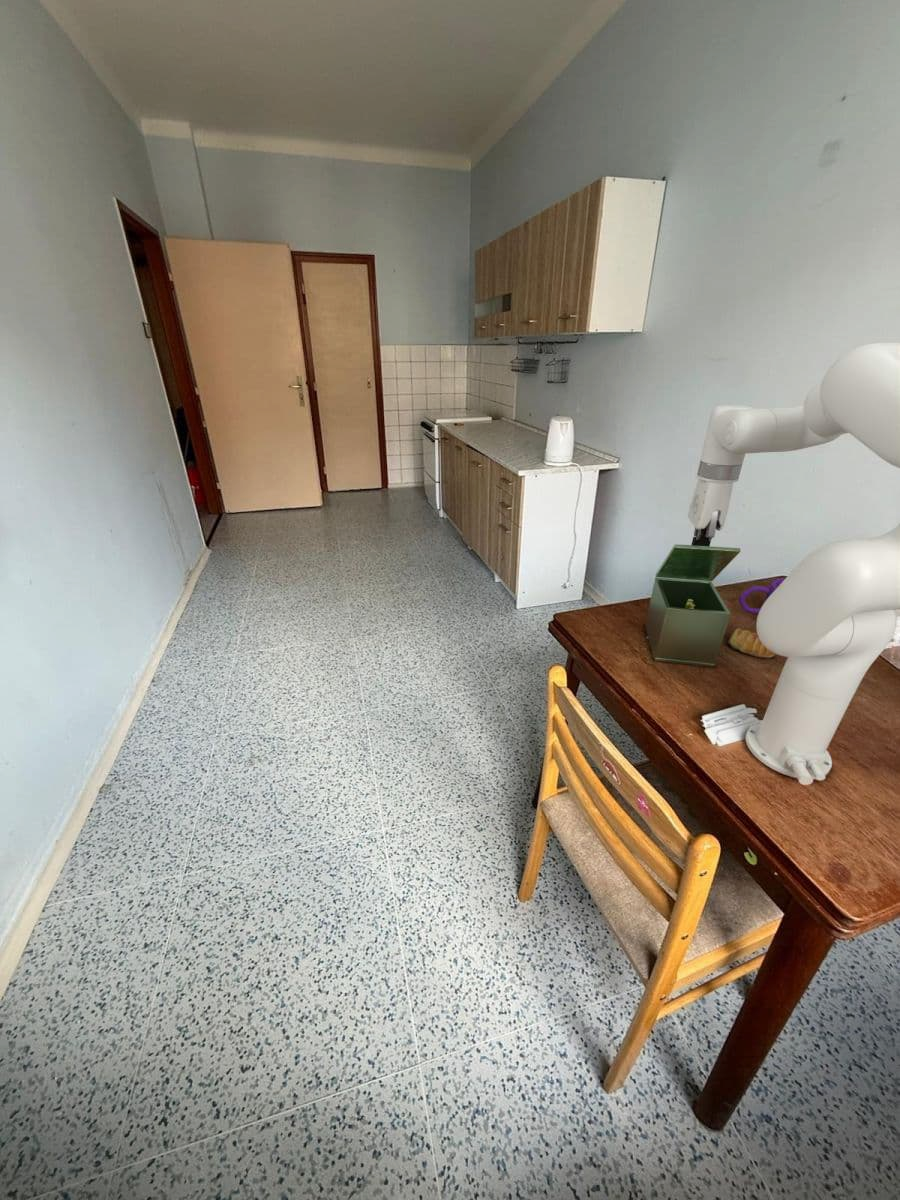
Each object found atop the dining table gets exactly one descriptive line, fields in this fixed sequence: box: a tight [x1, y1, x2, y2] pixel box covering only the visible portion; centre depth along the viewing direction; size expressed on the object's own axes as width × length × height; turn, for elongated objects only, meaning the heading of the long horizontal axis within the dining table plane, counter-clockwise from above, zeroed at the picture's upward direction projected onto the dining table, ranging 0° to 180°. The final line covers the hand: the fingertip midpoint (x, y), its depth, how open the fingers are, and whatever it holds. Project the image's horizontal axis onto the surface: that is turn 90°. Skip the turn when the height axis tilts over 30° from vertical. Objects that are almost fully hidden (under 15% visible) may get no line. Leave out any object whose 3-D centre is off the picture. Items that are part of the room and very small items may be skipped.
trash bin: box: [644, 577, 731, 668], centre depth 110 cm, size 16×13×14 cm
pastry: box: [727, 627, 776, 659], centre depth 110 cm, size 9×7×4 cm
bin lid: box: [655, 543, 741, 582], centre depth 105 cm, size 16×13×1 cm
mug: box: [738, 577, 787, 614], centre depth 120 cm, size 17×11×10 cm, turn 71°
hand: (697, 555), depth 103 cm, fingers closed
